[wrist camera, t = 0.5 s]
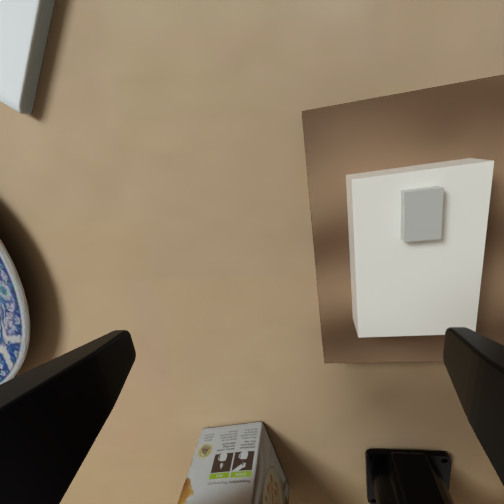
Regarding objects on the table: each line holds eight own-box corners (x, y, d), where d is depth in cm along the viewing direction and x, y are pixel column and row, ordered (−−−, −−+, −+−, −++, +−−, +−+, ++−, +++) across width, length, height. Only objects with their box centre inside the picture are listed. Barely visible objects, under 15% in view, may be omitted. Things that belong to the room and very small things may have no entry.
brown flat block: (503, 337, 20) (525, 359, 18) (322, 343, 23) (324, 363, 21) (542, 71, 15) (580, 60, 13) (302, 114, 17) (302, 111, 15)
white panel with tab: (457, 313, 18) (481, 340, 15) (352, 318, 19) (360, 344, 17) (470, 158, 15) (502, 161, 12) (345, 174, 16) (353, 181, 14)
